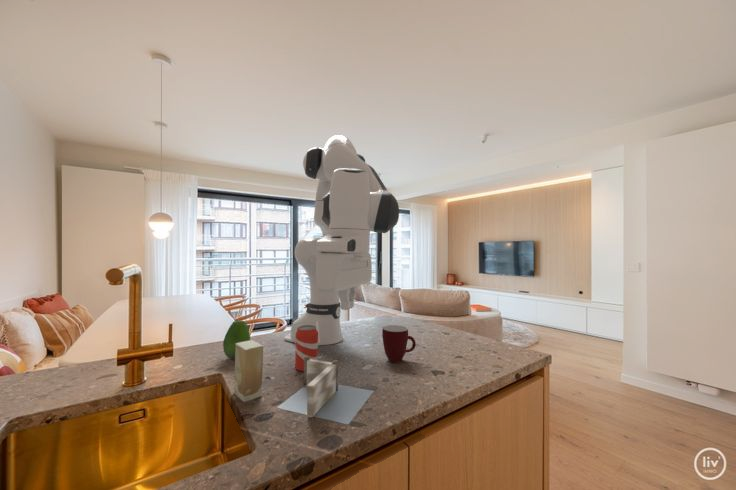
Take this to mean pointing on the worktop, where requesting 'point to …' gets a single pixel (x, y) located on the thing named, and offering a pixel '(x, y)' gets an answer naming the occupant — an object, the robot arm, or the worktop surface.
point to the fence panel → (321, 390)
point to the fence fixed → (316, 369)
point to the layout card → (331, 404)
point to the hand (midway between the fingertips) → (347, 308)
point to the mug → (396, 342)
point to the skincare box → (248, 370)
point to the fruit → (235, 337)
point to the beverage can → (306, 345)
